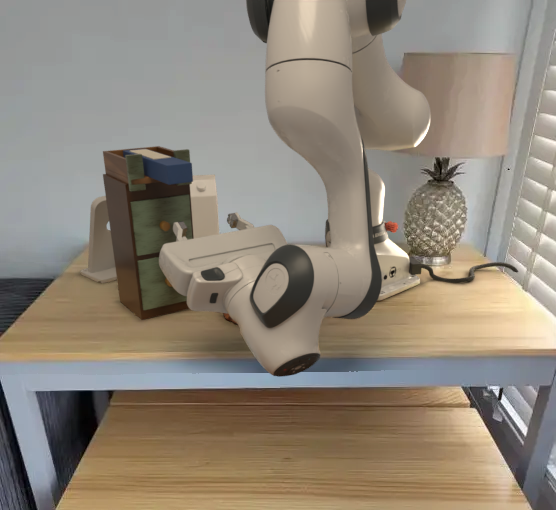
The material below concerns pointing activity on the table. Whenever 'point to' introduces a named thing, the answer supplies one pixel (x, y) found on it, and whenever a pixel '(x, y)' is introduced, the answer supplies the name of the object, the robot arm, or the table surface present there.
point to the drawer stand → (144, 230)
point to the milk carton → (204, 206)
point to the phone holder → (100, 245)
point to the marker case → (164, 167)
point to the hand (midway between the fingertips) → (205, 220)
